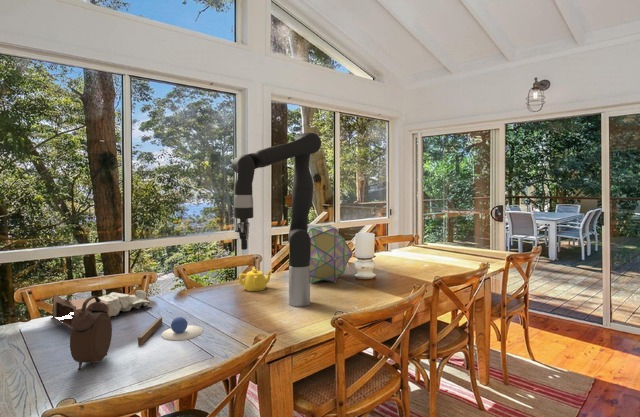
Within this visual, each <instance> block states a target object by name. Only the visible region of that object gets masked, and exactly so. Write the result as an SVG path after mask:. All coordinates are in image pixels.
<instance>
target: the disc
mask: <svg viewBox="0 0 640 417" xmlns="http://www.w3.org/2000/svg"><path fill="white" fill-rule="evenodd" d="M202 333H203V328H202V327H201V326H199V325H198V326H197V325H194V324H193V325H192V324H190V325H188V324H187V328H186V330H185V331H184V332H182V333H175V332H174V331H173V330H172V329H171V327H169V328H168V329H166V330H164V331H162V332H161V338H162V339H164V340H166V341H172V342H173V341H178V342H179V341H186V340H191V339H193V338H196V337H198V336H200V335H201V334H202Z"/></svg>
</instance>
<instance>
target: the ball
mask: <svg viewBox="0 0 640 417" xmlns="http://www.w3.org/2000/svg"><path fill="white" fill-rule="evenodd" d="M187 325H188V321H187V319H186V318H185V317H182V316H177V317H175V318H174V319H173V320H172V321H171V323H170V328H171V329H172V330H173V331H174V332H175V333H182V332H184V331H185V330H186V328H187Z"/></svg>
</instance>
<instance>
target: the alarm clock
mask: <svg viewBox="0 0 640 417" xmlns="http://www.w3.org/2000/svg"><path fill="white" fill-rule="evenodd" d="M98 297H99V296H97V295H92V296H89V297H87V298H88V299H86V300H85V301H84V303H83V305H82V310H81V311H80V312H78V313H77V314H75V315H73V316H74V317H73V318H72V327H73V329H71V332H70V333H71V334H70V335H69V336H70V337H69V349H70V353H71V357H72V359H73V360H74V362H77V363H78V368H77V370H78V371H81V369H82V368H81V367H82V364H83V363H86V364H87V363H90V364H91V363H92V368H96V362H97V363H98V362H101V361H102V360H103V359H104V358H105V357H107V356H108V352H109V349H110V346H111V343H112V342H111V341H112V336H113V325H112V324H113V322H112V320H111V316H110V317H109V315H108V314H107V313H108V307H107V305H106V304H105V303H103V302H100V301H101V300H100V299H99V298H98ZM93 298H95V300H96V302H93V303H91V304H89V306H88V307H87V310H86V306H87V303H88V302H89V301H90V300H91V299H93ZM85 310H86V311H85Z"/></svg>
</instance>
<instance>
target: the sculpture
mask: <svg viewBox="0 0 640 417" xmlns="http://www.w3.org/2000/svg"><path fill="white" fill-rule="evenodd" d="M307 232H308V234H309V236H310V240H311V257H310V285H311V284H314V283H317V282H320V281H324V282H330V283H331V282H332V283H337V280H338V279H339V277H340V276H341V275H344V274H345V271H346V266H347V264H348V263H349V261H350V260H351V257H352V256H353V255H354V252H352V249H351V248H350V247H349V245H348V244H347V242H346V240H345V238H344V237H343V236H342V235H341V233H339V231H338V230H337V228H336V226H334V227H333V226H332V224H329V225H309V224H307Z"/></svg>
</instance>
